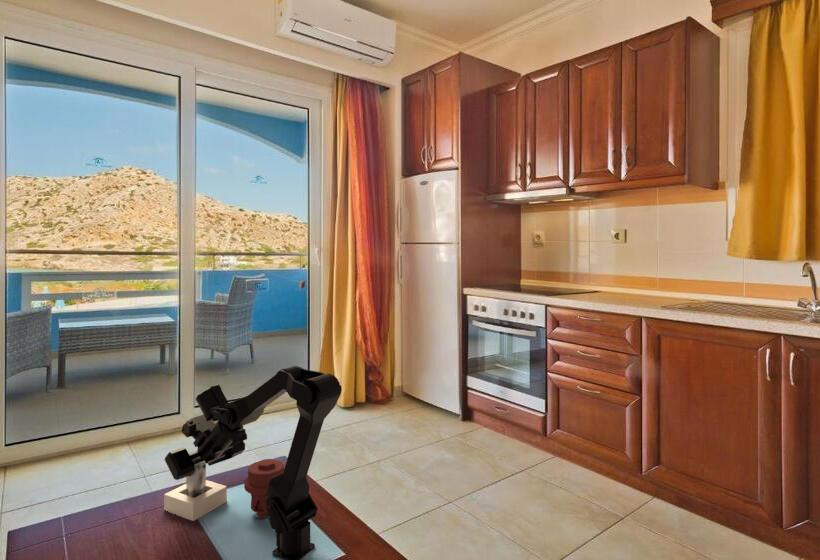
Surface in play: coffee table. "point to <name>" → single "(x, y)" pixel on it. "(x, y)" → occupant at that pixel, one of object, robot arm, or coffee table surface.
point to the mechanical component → (261, 483)
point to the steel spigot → (196, 480)
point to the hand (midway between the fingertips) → (192, 470)
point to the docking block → (195, 501)
